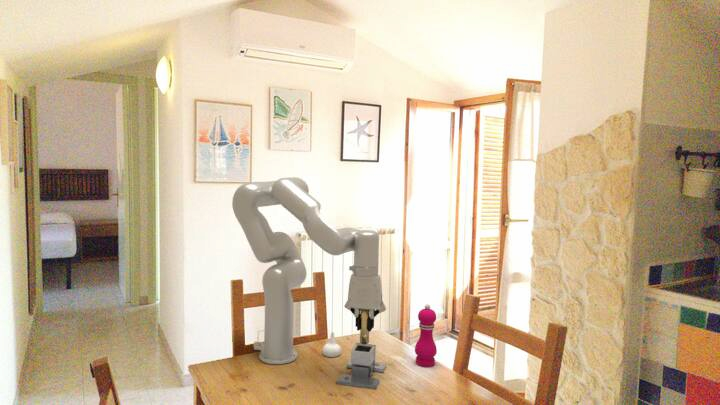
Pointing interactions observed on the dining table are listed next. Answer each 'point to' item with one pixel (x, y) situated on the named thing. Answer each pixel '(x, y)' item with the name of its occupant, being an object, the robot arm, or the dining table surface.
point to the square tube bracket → (365, 357)
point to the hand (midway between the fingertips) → (364, 329)
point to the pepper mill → (426, 338)
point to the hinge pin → (364, 326)
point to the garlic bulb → (332, 347)
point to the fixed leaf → (359, 377)
